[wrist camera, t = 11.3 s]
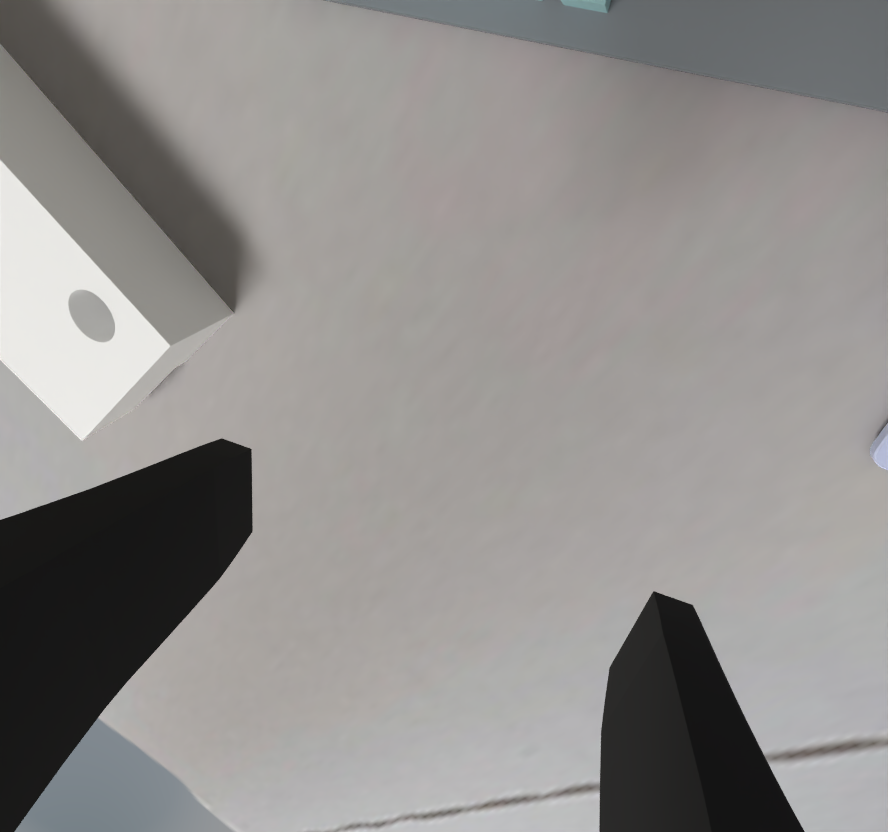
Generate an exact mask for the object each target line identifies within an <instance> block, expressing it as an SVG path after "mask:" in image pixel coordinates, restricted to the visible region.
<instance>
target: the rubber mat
mask: <svg viewBox="0 0 888 832" xmlns="http://www.w3.org/2000/svg"><path fill="white" fill-rule="evenodd" d="M325 1H330V2H335V3H340V4H345V5H350V6H355V7H360V8H365V9H370V10H375V11H381V12H386V13H391V14H396V15H401V16H406V17H411V18H416V19H421V20H426V21H431V22H436V23H441V24H446V25H451V26H456V27H461V28H466V29H471V30H476V31H481V32H486V33H491V34H496V35H501V36H506V37H511V38H516V39H521V40H526V41H531V42H536V43H541V44H546V45H551V46H556V47H561V48H566V49H571V50H576V51H581V52H587V53H592V54H597V55H602V56H607V57H612V58H617V59H622V60H627V61H632V62H637V63H642V64H647V65H652V66H657V67H662V68H667V69H672V70H677V71H682V72H687V73H692V74H697V75H702V76H707V77H712V78H717V79H722V80H727V81H732V82H737V83H742V84H747V85H752V86H757V87H762V88H767V89H772V90H777V91H782V92H788V93H793V94H798V95H803V96H808V97H813V98H818V99H823V100H828V101H833V102H838V103H843V104H848V105H853V106H858V107H863V108H868V109H873V110H878V111H883V112H888V0H611V2H610V6H609V9H608V13H604V12H599V11H593V10H588V9H582V8H577V7H572V6H566V5H563V3H562V2H561V0H543V1H539V0H325Z"/></svg>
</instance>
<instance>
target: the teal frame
mask: <svg viewBox="0 0 888 832" xmlns="http://www.w3.org/2000/svg"><path fill="white" fill-rule="evenodd" d="M539 1H543V0H539ZM561 2H562V3H563V5H566V6H572V7H577V8H582V9H588V10H593V11H599V12H604V13H608V9H609V6H610V2H611V0H561Z"/></svg>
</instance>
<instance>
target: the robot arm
mask: <svg viewBox="0 0 888 832" xmlns="http://www.w3.org/2000/svg"><path fill="white" fill-rule="evenodd" d="M870 455H871V457H872V458H873V460H874V461H875V462H876V464H877V465H878V466H879V467H881V468H883V469H886V470H888V423H887V424H886V426H885V427H884V428H883V430H882V431H881V432H880V434H879V435H878V437H877V438H876V439H875V441H874V442H873V443H872V445H871V448H870ZM251 533H252V458H251V449H250V448H247V447H244V446H241V445H239V444H236V443H233V442H230V441H227V440H224V439H219V440H216V441H213V442H210V443H208V444H205V445H202V446H199V447H197V448H194V449H192V450H189V451H186V452H184V453H181V454H179V455H176V456H174V457H171V458H169V459H166V460H164V461H161V462H159V463H156V464H153V465H151V466H148V467H146V468H143V469H141V470H138V471H136V472H133V473H130V474H128V475H125V476H123V477H120V478H117V479H115V480H112V481H110V482H107V483H104V484H102V485H99V486H97V487H94V488H91V489H89V490H86V491H83V492H80V493H77V494H74V495H72V496H69V497H66V498H63V499H60V500H57V501H54V502H51V503H49V504H46V505H43V506H40V507H37V508H34V509H31V510H29V511H26V512H23V513H20V514H17V515H14V516H11V517H8V518H5V519H2V520H0V832H14V831H15V830H16V828H17V827H18V826H19V824H20V823H21V821H22V820H23V819H24V817H25V816H26V815H27V813H28V812H29V810H30V809H31V807H32V806H33V805H34V803H35V802H36V801H37V799H38V798H39V796H40V795H41V793H42V792H43V791H44V789H45V788H46V787H47V785H48V784H49V783H50V781H51V780H52V778H53V777H54V775H55V774H56V773H57V771H58V770H59V769H60V767H61V766H62V764H63V763H64V762H65V761H66V759H67V758H68V757H69V755H70V754H71V753H72V751H73V750H74V749H75V747H76V746H77V745H78V743H79V742H80V741H81V739H82V738H83V737H84V735H85V734H86V733H87V731H88V730H89V729H90V727H91V726H92V725H93V723H94V722H95V721H96V719H97V718H98V717H99V715H100V714H101V713H102V712H103V710H104V709H105V708H106V706H107V705H108V704H109V703H110V702H111V700H112V699H113V698H114V697H115V696H116V694H117V693H118V692H119V691H120V690H121V688H122V687H123V686H124V685H125V684H126V683H127V681H128V680H129V679H130V678H131V677H132V676H133V675H134V674H135V673H136V671H137V670H138V669H139V668H140V667H141V666H142V665H143V664H144V663H145V661H146V660H147V659H148V658H149V657H150V656H151V655H152V654H153V653H154V651H155V650H156V649H157V648H158V647H159V646H160V645H161V644H162V643H163V641H164V640H165V639H166V638H167V637H168V636H169V635H170V634H171V633H172V632H173V630H174V629H175V628H176V627H177V626H178V625H179V624H180V623H181V622H182V620H183V619H184V618H185V617H186V616H187V615H188V614H189V613H190V612H191V610H192V609H193V608H194V607H195V606H196V605H197V604H198V603H199V601H200V600H201V599H202V598H203V597H204V596H205V595H206V594H207V592H208V591H209V590H210V589H211V588H212V587H213V586H214V584H215V583H216V582H217V581H218V580H219V579H220V577H221V576H222V575H223V573H224V572H225V571H226V569H227V568H228V566H229V565H230V564H231V562H232V561H233V559H234V558H235V557H236V555H237V554H238V552H239V551H240V549H241V548H242V546H243V545H244V543H245V542H246V540H247V539H248V537H249V536H250V534H251ZM600 832H804V830H803V828H802V826H801V825H800V823H799V821H798V819H797V817H796V815H795V814H794V812H793V810H792V808H791V806H790V805H789V803H788V801H787V799H786V797H785V795H784V793H783V791H782V789H781V788H780V786H779V784H778V782H777V780H776V778H775V776H774V774H773V772H772V770H771V768H770V766H769V764H768V762H767V760H766V758H765V756H764V754H763V752H762V751H761V749H760V747H759V745H758V743H757V741H756V739H755V737H754V735H753V733H752V731H751V729H750V727H749V725H748V723H747V721H746V719H745V716H744V714H743V712H742V710H741V708H740V706H739V704H738V702H737V700H736V698H735V696H734V693H733V691H732V689H731V687H730V685H729V683H728V681H727V678H726V676H725V674H724V672H723V670H722V668H721V665H720V663H719V661H718V659H717V657H716V654H715V652H714V650H713V648H712V646H711V643H710V641H709V639H708V637H707V635H706V632H705V630H704V628H703V626H702V623H701V621H700V619H699V617H698V615H697V613H696V611H695V609H694V607H693V605H691V604H688V603H685V602H682V601H680V600H677V599H674V598H671V597H668V596H665V595H663V594H660V593H657V592H654V591H653V593H652V595H651V597H650V598H649V600H648V602H647V604H646V605H645V607H644V609H643V611H642V612H641V614H640V616H639V617H638V619H637V621H636V623H635V624H634V626H633V628H632V630H631V631H630V633H629V635H628V637H627V638H626V640H625V642H624V644H623V645H622V647H621V649H620V651H619V652H618V654H617V656H616V657H615V659H614V661H613V663H612V664H611V666H610V669H609V676H608V683H607V690H606V698H605V705H604V713H603V722H602V730H601V769H600Z"/></svg>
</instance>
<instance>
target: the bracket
mask: <svg viewBox="0 0 888 832" xmlns="http://www.w3.org/2000/svg"><path fill="white" fill-rule="evenodd" d="M233 314H234V312H233V311H232V310H231V309H230V308H229V307H228V306H227V304H226V303H225V302H224V301H223V300H222V299H221V298H220V296H219V295H218V294H217V293H216V292H215V291H214V289H213V288H212V287H211V286H210V285H209V284H208V283H207V281H206V280H205V279H204V278H203V277H202V276H201V274H200V273H199V272H198V271H197V270H196V269H195V268H194V266H193V265H192V264H191V263H190V262H189V261H188V259H187V258H186V257H185V256H184V255H183V254H182V253H181V251H180V250H179V249H178V248H177V247H176V246H175V244H174V243H173V242H172V241H171V240H170V239H169V238H168V236H167V235H166V234H165V233H164V232H163V231H162V229H161V228H160V227H159V226H158V225H157V224H156V223H155V221H154V220H153V219H152V218H151V217H150V216H149V215H148V213H147V212H146V211H145V210H144V209H143V208H142V206H141V205H140V204H139V203H138V202H137V201H136V200H135V198H134V197H133V196H132V195H131V194H130V193H129V191H128V190H127V189H126V188H125V187H124V186H123V185H122V183H121V182H120V181H119V180H118V179H117V178H116V176H115V175H114V174H113V173H112V172H111V171H110V170H109V168H108V167H107V166H106V165H105V164H104V163H103V161H102V160H101V159H100V158H99V157H98V156H97V155H96V153H95V152H94V151H93V150H92V149H91V148H90V147H89V145H88V144H87V143H86V142H85V141H84V140H83V138H82V137H81V136H80V135H79V134H78V133H77V132H76V130H75V129H74V128H73V127H72V126H71V125H70V123H69V122H68V121H67V120H66V119H65V118H64V117H63V115H62V114H61V113H60V112H59V111H58V110H57V108H56V107H55V106H54V105H53V104H52V103H51V102H50V100H49V99H48V98H47V97H46V96H45V95H44V93H43V92H42V91H41V90H40V89H39V88H38V87H37V85H36V84H35V83H34V82H33V81H32V80H31V79H30V77H29V76H28V75H27V74H26V73H25V72H24V70H23V69H22V68H21V67H20V66H19V65H18V64H17V62H16V61H15V60H14V59H13V58H12V57H11V55H10V54H9V53H8V52H7V51H6V50H5V49H4V47H3V46H2V45H1V44H0V360H1V361H2V362H3V363H4V364H5V365H6V366H7V367H8V368H9V369H10V370H11V371H12V372H13V373H14V374H15V375H16V376H17V377H18V378H19V379H20V380H21V381H22V382H23V383H24V384H25V385H26V386H27V387H28V388H29V389H30V390H31V391H32V392H33V393H34V394H35V395H36V396H37V397H38V398H39V399H40V400H41V401H42V402H43V403H44V404H45V405H46V406H47V407H48V408H49V409H50V410H51V411H52V412H53V413H54V414H55V415H56V416H57V417H58V418H59V419H60V420H61V421H62V422H63V423H64V424H65V425H66V426H67V427H68V428H69V429H70V430H71V431H72V432H73V433H74V434H75V435H76V436H77V437H78V438H79V439H80V440H81V441H83V440H85V439H86V438H88V437H90V436H91V435H93V434H95V433H96V432H98V431H100V430H101V429H103V428H105V427H106V426H108V425H110V424H111V423H113V422H115V421H116V420H118V419H120V418H121V417H123V416H125V415H126V414H128V413H130V412H131V411H133V410H134V409H135V408H136V407H137V406H138V405H139V404H140V403H141V402H142V401H143V400H144V399H145V398H146V397H147V396H148V395H149V394H150V393H151V392H152V391H153V390H154V389H155V388H156V387H157V386H158V385H159V384H160V383H161V382H162V381H163V380H164V379H165V378H166V377H167V376H168V375H169V374H170V373H171V371H172V370H173V369H174V368H176V367H178V366H180V365H181V364H183V363H185V362H187V361H188V360H189V359H190V357H191V356H192V355H193V354H194V353H195V352H196V351H197V350H198V349H199V348H200V347H201V346H202V345H203V344H204V343H205V342H206V341H207V340H208V339H209V338H210V337H211V336H212V335H213V334H214V333H215V332H216V331H217V330H218V329H219V328H220V327H221V326H222V325H223V324H224V323H225V322H226V321H227V320H228V319H229V318H230V317H231V316H232V315H233Z"/></svg>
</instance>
